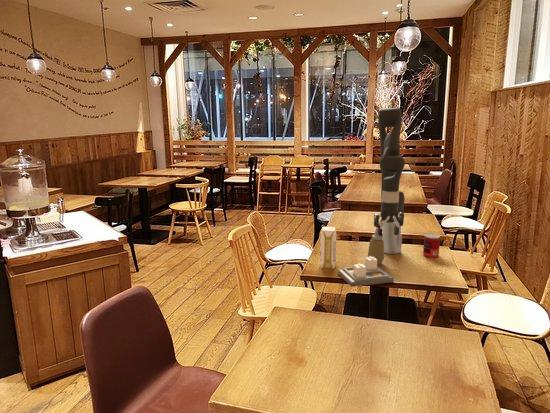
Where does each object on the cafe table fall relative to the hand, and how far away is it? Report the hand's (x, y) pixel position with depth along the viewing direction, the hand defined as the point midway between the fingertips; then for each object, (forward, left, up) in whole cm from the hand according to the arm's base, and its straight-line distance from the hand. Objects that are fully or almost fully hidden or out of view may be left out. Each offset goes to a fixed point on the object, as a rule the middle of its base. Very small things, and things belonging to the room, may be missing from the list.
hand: (387, 235), depth 191 cm
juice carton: (+23, -14, -18) cm, 33 cm away
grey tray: (+12, +4, -18) cm, 22 cm away
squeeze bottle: (-1, -11, -18) cm, 22 cm away
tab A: (+8, 0, -15) cm, 17 cm away
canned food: (-34, -14, -18) cm, 41 cm away
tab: (+17, +7, -15) cm, 24 cm away
